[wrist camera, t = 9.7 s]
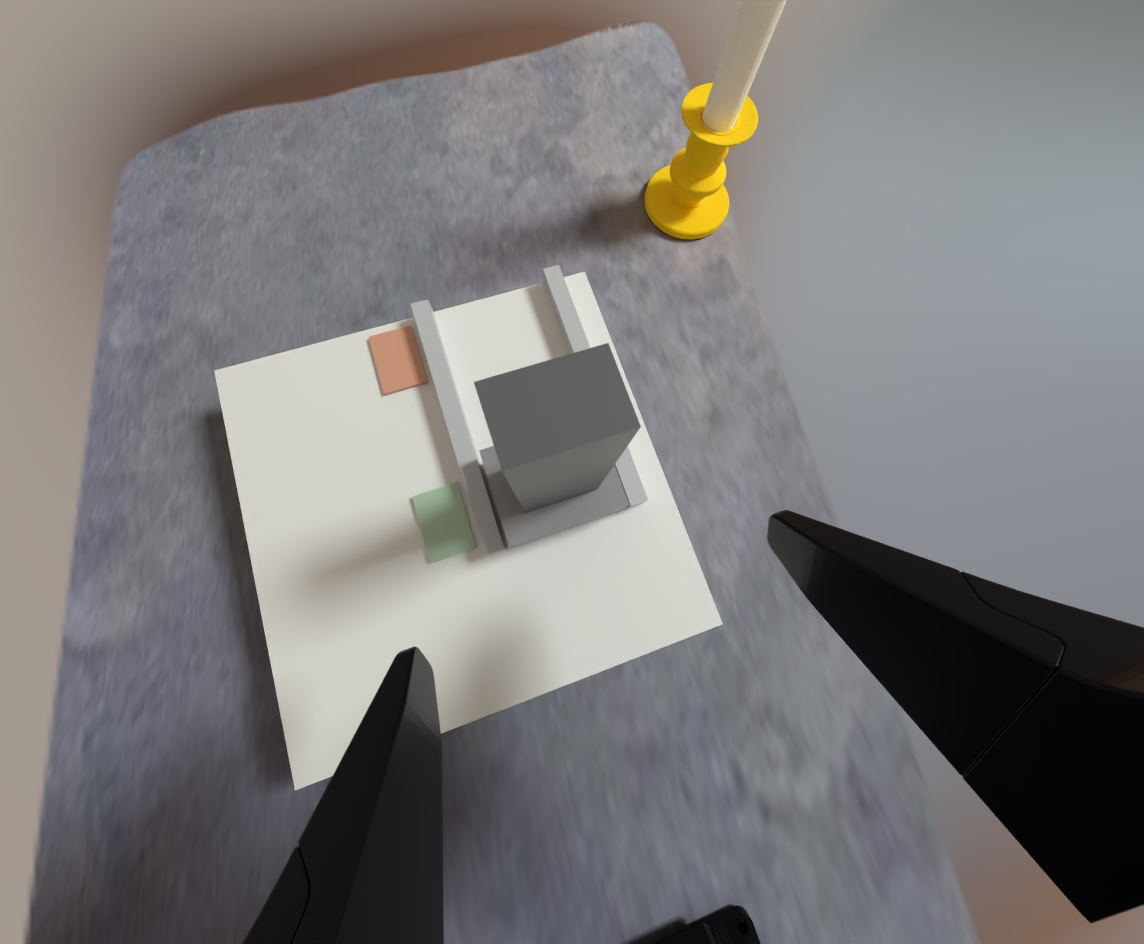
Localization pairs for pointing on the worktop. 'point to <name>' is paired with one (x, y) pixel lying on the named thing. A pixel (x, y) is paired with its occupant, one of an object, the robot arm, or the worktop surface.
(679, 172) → the candle
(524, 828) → the worktop surface
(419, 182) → the worktop surface
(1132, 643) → the robot arm
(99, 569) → the worktop surface
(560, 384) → the handle
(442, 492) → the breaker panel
